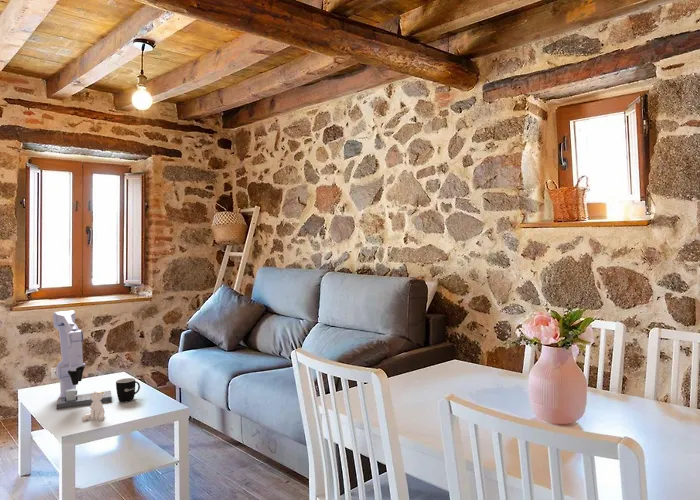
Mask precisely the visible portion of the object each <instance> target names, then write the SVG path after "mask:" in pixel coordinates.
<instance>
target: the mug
mask: <svg viewBox="0 0 700 500" xmlns="http://www.w3.org/2000/svg"><path fill="white" fill-rule="evenodd" d="M136 385H137V389H136ZM115 387H116V388H115V389H116V395H117V399H118V401H119V402H120V403H130V402H132V401H134V398H135V395H136V394H138V393H139V391H140V389H141V385H140V382H138V381H137V380H136V378H135V377H134V378H133V377H126V378H119V379H117V380H116V381H115Z"/></svg>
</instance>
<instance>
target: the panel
mask: <svg viewBox="0 0 700 500" xmlns="http://www.w3.org/2000/svg"><path fill="white" fill-rule="evenodd" d="M100 392H101V393H102V394H104V393H105V395H104V397H102V400H100V401H101V403H102V404H104V403H105V404H106V403H111V402H113V401H112V398H113V397H112V390H106V391H105V390H104V391H100ZM93 393H94V392H92V393H83V394H77V395H76V400H71V401H66V397H60V396H59V397H60V398H59V397H58V398H57V401H56V410H62V409H69V408H76V407H81V406H91V404H92V402H93V401H92V398H91V397H92V394H93Z"/></svg>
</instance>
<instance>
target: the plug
mask: <svg viewBox="0 0 700 500" xmlns="http://www.w3.org/2000/svg"><path fill="white" fill-rule="evenodd" d="M76 395H78V389H77V387H76V388H75V389H68V390H66V401H71V400H76Z"/></svg>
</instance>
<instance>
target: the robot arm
mask: <svg viewBox="0 0 700 500" xmlns="http://www.w3.org/2000/svg"><path fill="white" fill-rule="evenodd" d="M75 321H76V312H75V310H73V309H72V310H63V311H54V312H52V323H53V328H54V329H56V330H57V331H58V334H59V335H58V336H59V346H60V357H61V360H60V361H58V363H57V364H56V366H55V368H56V370H55V375H56V378H57V379H58V380H59V386H60V392H59V397H58V398H60V397H66V390H68V389H75V388H76V389H77V385H79V382H82V379H83V373H84V370H85V368H86V362H84V359H83V341H84V332H83V329H80V328H79V327H78V324H76V322H75Z"/></svg>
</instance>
